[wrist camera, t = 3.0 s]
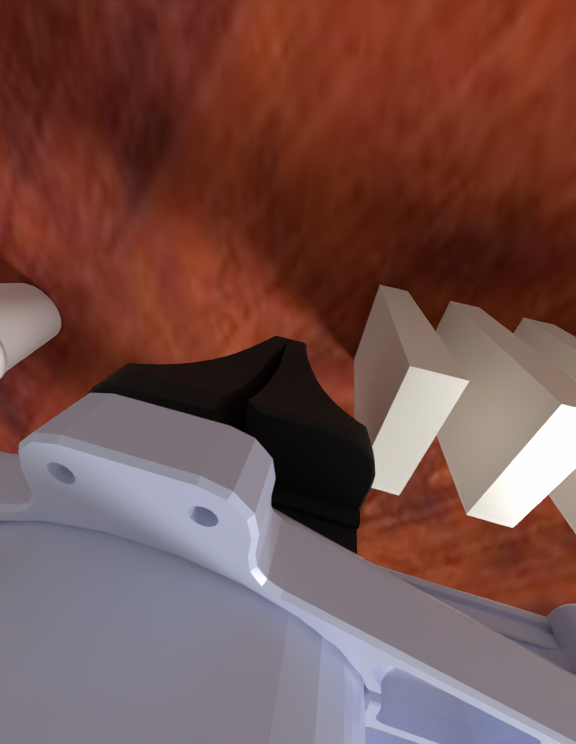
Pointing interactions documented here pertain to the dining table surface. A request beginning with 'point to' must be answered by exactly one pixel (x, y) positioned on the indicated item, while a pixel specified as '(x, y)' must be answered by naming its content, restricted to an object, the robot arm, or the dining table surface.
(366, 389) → the domino
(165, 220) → the dining table surface
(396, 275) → the dining table surface
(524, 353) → the domino
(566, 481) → the domino
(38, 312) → the soft serve ice cream cone
